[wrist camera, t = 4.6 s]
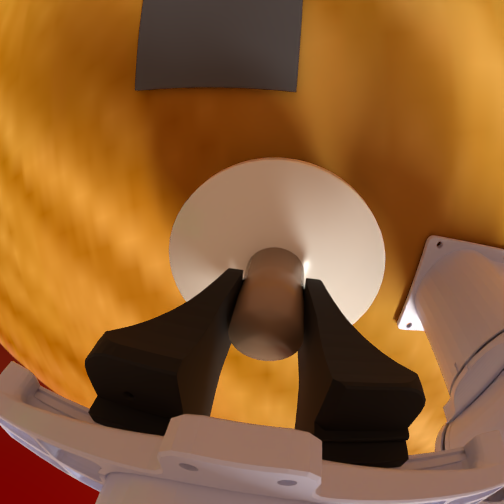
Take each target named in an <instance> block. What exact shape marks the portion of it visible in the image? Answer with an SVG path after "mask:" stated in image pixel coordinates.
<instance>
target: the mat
mask: <svg viewBox="0 0 504 504" xmlns="http://www.w3.org/2000/svg"><path fill="white" fill-rule="evenodd" d="M302 5H303V0H143V6H142V13H141V21H140V30H139V39H138V50H137V63H136V79H135V90H138V91H139V90H151V89H166V88H193V87H224V88H251V89H267V90H279V91H290V92H296V88H297V76H298V63H299V50H300V36H301V21H302Z"/></svg>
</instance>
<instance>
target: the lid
mask: <svg viewBox="0 0 504 504" xmlns="http://www.w3.org/2000/svg"><path fill="white" fill-rule="evenodd" d="M169 257H170V265H171V270H172V274H173V277H174V280H175V282H176V285H177V287H178V289H179V291H180V293H181V295H182V296H183V298H184V299H185V301H186V302H187V301H189V300H190V299H192V298H193V297H194V296H196V295H197V294H199V293H200V292H201V291H203V290H204V289H205V288H206V287H207V286H209V285H210V284H211V283H212V282H214V281H215V280H216V279H217V278H218V277H219V276H220V275H221V274H222V273H224V272H225V271H226V270H227V269H228V268H233V269H240V270H243V281H242V284H241V288H240V291H239V295H238V298H237V301H236V305H235V308H234V312H233V315H232V319H231V322H230V325H229V330H228V334H229V338H230V341H231V343H232V344H233V345H234V347H235V348H236V349H237V350H239V351H240V352H241V353H243V354H244V355H246V356H249V357H251V358H254V359H258V360H263V361H276V360H281V359H285V358H287V357H290V356H291V355H293V354H294V353H296V352H297V351H298V350H299V349H300V347H301V345H302V343H303V337H304V287H305V281H306V278H311V279H319V280H321V281H322V282H323V284H324V286H325V287H326V289H327V291H328V292H329V294H330V296H331V297H332V299H333V300H334V302H335V303H336V305H337V306H338V308H339V309H340V311H341V312H342V313H343V315H344V316H345V317H346V318H347V320H348V321H349V322H350V323H351V324H354V323H355V322H356V321H357V320H358V319H359V318H360V317H361V316H362V315H363V314H364V313H365V312H366V311H367V309H368V308H369V307H370V305H371V304H372V302H373V301H374V299H375V297H376V295H377V293H378V291H379V288H380V286H381V283H382V280H383V275H384V270H385V248H384V242H383V238H382V234H381V231H380V228H379V226H378V224H377V222H376V219H375V217H374V215H373V214H372V212H371V210H370V209H369V207H368V205H367V204H366V202H365V201H364V199H363V198H362V197H361V196H360V195H359V194H358V193H357V191H356V190H355V189H354V188H353V187H352V186H350V185H349V184H348V183H347V182H346V181H344V180H343V179H342V178H340V177H339V176H337V175H335V174H334V173H332V172H331V171H329V170H327V169H324V168H322V167H320V166H318V165H315V164H312V163H309V162H305V161H302V160H298V159H290V158H283V157H269V158H259V159H252V160H248V161H244V162H241V163H237V164H234V165H232V166H230V167H228V168H226V169H223V170H221V171H220V172H218V173H217V174H215V175H213V176H212V177H210V178H209V179H208V180H207V181H205V182H204V183H203V184H202V185H201V186H200V187H199V188H198V189H197V190H196V191H195V192H194V193H193V194H192V195H191V196H190V198H189V199H188V200H187V201H186V202H185V204H184V205H183V207H182V208H181V210H180V212H179V213H178V215H177V218H176V220H175V223H174V225H173V228H172V232H171V237H170V245H169Z"/></svg>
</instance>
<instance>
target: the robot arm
mask: <svg viewBox="0 0 504 504" xmlns="http://www.w3.org/2000/svg"><path fill="white" fill-rule="evenodd" d="M438 242H441V244H440V245H439V246H437V243H438ZM242 281H243V270H240V269H233V268H228V269H227V270H226V271H225V272H224V273H222V274H221V275H220V276H219V277H218V278H217V279H216V280H215V281H214V282H212V283H211V284H210V285H209V286H207V287H206V288H205V289H204V290H203V291H201V292H200V293H199V294H197V295H196V296H194V297H193V298H192V299H190V300H189V301H187V302H186V303H184V304H182V305H181V306H179V307H177V308H175V309H173V310H171V311H169V312H167V313H165V314H163V315H160V316H158V317H156V318H154V319H151V320H148V321H145V322H143V323H139V324H136V325H133V326H129V327H125V328H120V329H116V330H111V331H106V332H105V333H104V334H103V336H102V337H101V338H100V339H99V341H98V342H97V343H96V345H95V346H94V348H93V349H92V351H91V352H90V353H89V355H88V356H87V358H86V359H85V368H86V371H87V374H88V377H89V379H90V381H91V383H92V385H93V387H94V389H95V391H96V393H97V395H98V396H97V398H96V399H95V401H94V403H93V405H92V406H91V408H90V409H89V408H86V407H84V406H82V405H79V404H77V403H75V402H73V401H71V400H68V399H66V398H64V397H62V396H60V395H58V394H56V393H54V392H52V391H50V390H48V389H46V388H44V387H42V386H40V384H39V382H38V380H37V378H36V377H35V375H34V374H33V373H32V372H31V371H29V370H28V369H26V368H24V367H23V366H21V365H19V364H17V363H15V362H13V361H11V363H10V364H9V365H8V366H7V367H6V369H5V370H4V371H3V372H2V374H1V375H0V425H1V426H2V427H3V429H5V431H6V432H7V433H8V434H9V435H10V436H11V437H12V438H14V439H15V440H17V441H18V442H19V443H21V444H22V445H24V446H25V447H27V448H28V449H29V450H31V451H32V452H34V453H35V454H37V455H38V456H40V457H41V458H43V459H44V460H46V461H47V462H49V463H50V464H52V465H54V466H55V467H57V468H59V469H60V470H62V471H63V472H65V473H67V474H68V475H70V476H72V477H74V478H75V479H77V480H79V481H81V482H82V483H84V484H86V485H88V486H90V487H92V488H94V489H96V490H98V491H100V494H99V496H98V499H97V501H96V504H504V249H501V248H496V247H492V246H487V245H482V244H477V243H472V242H467V241H462V240H457V239H451V238H446V237H441V236H435V235H432V236H430V237H429V238H428V239H427V241H426V244H425V247H424V250H423V254H422V257H421V260H420V263H419V266H418V269H417V272H416V275H415V277H414V280H413V283H412V286H411V288H410V291H409V294H408V296H407V299H406V302H405V304H404V307H403V309H402V312H401V314H400V316H399V319H398V321H397V326H398V328H399V329H403V330H421V331H425V333H426V335H427V337H428V340H429V342H430V345H431V347H432V350H433V352H434V354H435V357H436V360H437V362H438V365H439V367H440V370H441V373H442V375H443V378H444V381H445V383H446V386H447V389H448V392H449V395H450V399H449V401H448V402H447V404H446V405H445V406H444V407H443V409H444V412H445V415H446V419H447V423H445V424H444V426H443V427H442V428H441V430H440V431H439V433H438V436H437V438H436V443H435V452H431V453H424V454H417V455H408V451H407V445H406V440H408V439H409V431H408V427H409V426H410V425H411V424H412V422H413V421H414V420H415V419H416V417H417V416H418V415H419V414H420V412H421V411H422V409H423V407H424V406H425V401H426V399H425V396H424V392H423V388H422V385H421V382H420V379H419V377H418V375H417V373H415V372H413V371H411V370H409V369H407V368H406V367H404V366H402V365H400V364H398V363H397V362H395V361H394V360H392V359H391V358H389V357H388V356H386V355H385V354H384V353H382V352H381V351H380V350H378V349H377V348H376V347H375V346H373V345H372V344H371V343H370V342H369V341H368V340H366V339H365V338H364V337H363V336H362V335H361V334H360V333H359V332H358V331H357V330H356V329H355V328H354V327H353V325H352V324H351V323H350V322H349V321H348V320H347V318H346V317H345V316H344V315H343V313H342V312H341V311H340V309H339V308H338V306H337V305H336V303H335V302H334V300H333V299H332V297H331V296H330V294H329V292H328V291H327V289H326V287H325V286H324V284H323V282H322V281H321V280H319V279H311V278H306V281H305V287H304V337H303V343H302V345H301V347H300V349H299V350H298V366H299V392H298V403H297V413H296V423H295V429H291V428H281V427H272V426H264V425H256V424H249V423H243V422H236V421H230V420H225V419H219V418H214V417H210V413H211V409H212V405H213V400H214V396H215V392H216V388H217V384H218V380H219V376H220V373H221V369H222V367H223V364H224V361H225V358H226V356H227V353H228V350H229V348H230V345H231V341H230V338H229V334H228V330H229V325H230V322H231V319H232V315H233V312H234V308H235V305H236V301H237V298H238V295H239V291H240V288H241V284H242ZM408 323H410V324H408ZM407 324H408V325H407Z"/></svg>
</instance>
